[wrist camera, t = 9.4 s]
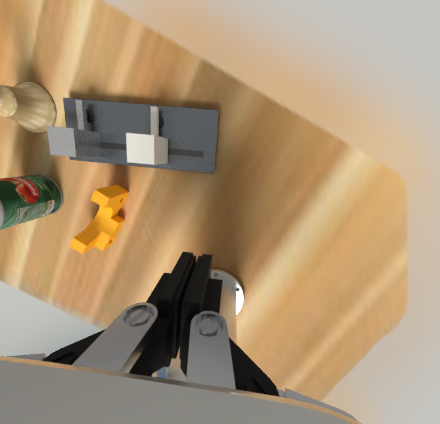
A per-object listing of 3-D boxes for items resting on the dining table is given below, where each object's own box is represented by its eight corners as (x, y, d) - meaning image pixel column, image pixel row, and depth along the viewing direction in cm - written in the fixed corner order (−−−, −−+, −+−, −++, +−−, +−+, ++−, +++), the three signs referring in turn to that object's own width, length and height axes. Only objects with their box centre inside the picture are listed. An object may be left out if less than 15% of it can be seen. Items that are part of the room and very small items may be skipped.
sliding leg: (167, 163, 35) (154, 164, 29) (144, 161, 35) (127, 162, 29) (168, 109, 33) (154, 99, 27) (144, 107, 33) (124, 96, 27)
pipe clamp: (112, 244, 42) (91, 259, 36) (93, 232, 42) (69, 246, 36) (137, 196, 39) (119, 204, 33) (117, 184, 39) (95, 189, 33)
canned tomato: (27, 210, 42) (-44, 228, 31) (23, 171, 39) (-55, 177, 29) (64, 216, 41) (5, 237, 31) (62, 178, 39) (-2, 186, 29)
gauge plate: (214, 172, 37) (209, 176, 29) (76, 159, 38) (38, 160, 31) (219, 112, 34) (214, 100, 27) (70, 100, 35) (27, 85, 28)
